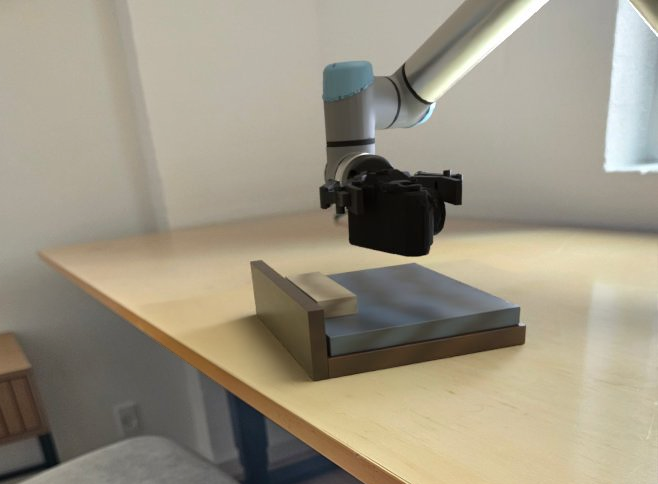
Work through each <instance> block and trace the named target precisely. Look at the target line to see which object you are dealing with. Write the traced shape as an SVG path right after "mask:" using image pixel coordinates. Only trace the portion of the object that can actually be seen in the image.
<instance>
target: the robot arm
mask: <svg viewBox="0 0 658 484" xmlns="http://www.w3.org/2000/svg"><path fill="white" fill-rule="evenodd" d="M548 1H549V0H464V1H463V2H462V3H461V4H460V5H459V6H458V7H457V8H456V9H455V10H454V11H453V12H452V14H450V16H448V17H447V18H446V20H445V21H444V22H443V23H441V25H440V26H438V27H437V29H435V31H434V32H432V34H431V35H429V37H428V38H427V39H426V40H425V41H424V42H423V43H422V44H421V45H420V46H419V47H418V48H417V49H416V50H415V51H414V52H413V53H412V54H411V55H410V56H409V57H408V59H406V61H404V63H402V65H400V66H399V67H398V69H396V70H395V72H393V73H392V74H391V75H374V69H373V64H372V63H371V62H370V61H368V60H348V61H339V62H333V63H329V64H327V65H326V66H325V67H324V68H323V71H322V95H321V96H322V97H321V99H322V100H323V113H324V114H323V115H324V116H323V117H324V129H325V131H324V132H325V144H326V147H325V149H326V150H325V153H326V163H325V166H324V169H323V180H324V184H321V186H319V188H318V190H319V191H318V193H319V206H320V209H322V210H328V209H331V208H332V207H333V206H334V205H335V215H345V214H346V210H347V211H348V210H349V211H351V212H353V213H354V214H356V215H364V206H363V189H361V188H358V187H355V186H353V185H351V183H352V181H354V180H355V179H359V180H365V178H366V172H367V170H375V169H380V170H386V169H395V166H394V165H393V164H392V163H391V161H389V160H388V159H386V158H385V157H384V156H381V155H379V154H376V135H375V134H376V131H384V130H394V129H411V128H413V127H415V126H420V125H422V124H424V123H425V122H426V121H428V120H429V118H431V116H432V114H433V112H434V109H435V107H436V102H437V101H438V100H439V99H440V98H441V97H442V96H443V95H444V94H446V93H447V92H448V91H449V90H450V89H452V88H453V86H454V85H455V84H457V83H458V82H460V80H461V79H463V77H465V75H467V74H468V73H469V72H470V71H471V70H472V69H473V68H475V67H476V66H477V65H478V64H479V63H481V61H482V60H484V59H485V58H487V56H488V55H490V54H491V52H492V51H493V50H495V49H496V48H497V47H498V46H499V45H500V44H501V43H502V42H503V41H505V40H506V39H507V38H508V37H509V36H510V35H512V34H513V32H515V31H516V30H517V29H518V28H519V27H520V26H521V25H523V24H524V23H525V22H526V21H527V20H528V19H529V18H530V17H531V16H533V15H534V13H536V12H537V11H538V10H539V9H540V8H541V7H542V6H544V5H545V4H546V3H547V2H548ZM627 2H628V3H629V4H630V5H631V6H632V8H633V9H634V10H635V11H636V12H637V13H638V15H639V16H640V18H642V19H643V21H644V22H645V23H646V24H647V25H648V27H649V28H650V29H651V30H652V31H653V33H654V34H655V35H656V36H657V37H658V0H627ZM400 171H401V170H400ZM401 172H403V173H404V174H406V175H407V176H409V177H410V178H411V179H417V181H418V182H419V184H421V187H425V188H432V189H436V190H437V191H439V193H440V194H441V196H442V198H443V201H444V203H446V204H449V205H452V206H462V205H463V184H464V183H463V181H464V178H463V176H464V175H463V173H462V174H461V173H452V169H445V170H442V173H439V172H426V171H422V170H418V171H416V172H415V173H414V174H412V175H411V173H410V171H407V170H406V171H405V170H404V171H401Z"/></svg>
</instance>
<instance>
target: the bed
mask: <svg viewBox="0 0 658 484" xmlns="http://www.w3.org/2000/svg"><path fill="white" fill-rule="evenodd" d="M249 264H250V274H251V280H252V289H253V298H254V306H255V314H256V315H257V317H258V318H259V319H260V320H261V321H262V322H263V323H264V325H265V326H266V327H267V328H268V329H269V331H270V332H271V333H272V334H273V335H274V336H275V337H276V339H277V340H278V341H279V343H280V344H282V346H283V347H284V348H285V349H286V351H287V352H288V353H289V354H290V355H291V356H292V358H293V359H294V360H295V361H296V362H297V363H298V364H299V366H300V367H301V368H302V369H303V371H305V373H306V374H307V375H308V376H309V377H310V378H311V380H312V381H313V382H317V381H322V380H328V379H333V378H339V377H345V376H351V375H356V374H361V373H367V372H372V371H378V370H384V369H390V368H394V367H399V366H405V365H411V364H416V363H417V364H418V363H422V362H429V361H434V360H439V359H446V358H451V357H456V356H462V355H467V354H474V353H479V352H484V351H485V352H486V351H490V350H496V349H501V348H507V347H513V346H517V345H518V346H519V345H524V344H526V334H527V333H526V332H527V325H526V324H524V323H522V322H521V321H520V320H521V319H520V318H521V306H520V305H518V304H516V303H514V302H510V301H508V300H506V299H503V298H501V297H499V296H497V295H494V294H492V293H489V292H486V291H483V290H482V289H479V288H477V287H474V286H472V285H469V284H468V283H465V282H462V281H461V280H458V279H456V278H452V277H450V276H448V275H446V274H443V273H440V272H438V271H436V270H434V269H431V268H428V267H426V266H424V265H421V264H419V263H416V262H410V263H403V264H394V265H389V266H388V265H387V266H382V267H375V268H367V269H360V270H352V271H346V272H345V271H344V272H338V273H337V272H336V273H330V274H324V273H322V272H321V271H313V272H312V271H311V272H305V273H297V274H292V275H285V276H283V275H282V274H280V273H279V272H278V271H276V270H275V269H274V268H272V267H271V266H270V265H269V264H268V263H266V262H265V261H264V260H262V259H259V260H251V261H249Z"/></svg>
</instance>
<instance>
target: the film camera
mask: <svg viewBox="0 0 658 484" xmlns="http://www.w3.org/2000/svg"><path fill="white" fill-rule="evenodd" d="M351 185H353V186H355V187H358V188H361V189H363V206H364V215H356V214H354V213H353V212H351V211H349V210H347V225H348V227H347V229H348V243H349V244H350V245H351V246H353V247H354V246H355V247H359V248H363V249H368V250H372V251H377V252H381V253H385V254H391V255H396V256H400V257H406V258H418V257H423V256H428V255H429V254H430V251H431V246H433V244H434V236H437V235H438V234H440V233H441V232H442V231H443V229H444V227H445V223H446V218H447V210H446V204H445V203H446V202H444V201H443V198H442V196H441V194H440V193H439V191H437V190H436V189H432V188H425V187H421V184H419V182H418V181H417V179H411V178H410V177H409V176H407V175H406V174H404V173H403V172H401V170H400V169H398V168H394V169H386V170H380V169H375V170H367V172H366V178H365V180H359V179H355V180H354V181H352V183H351Z"/></svg>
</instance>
